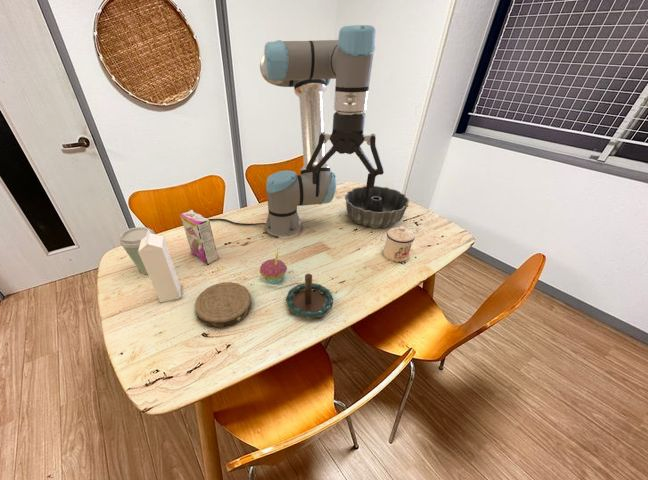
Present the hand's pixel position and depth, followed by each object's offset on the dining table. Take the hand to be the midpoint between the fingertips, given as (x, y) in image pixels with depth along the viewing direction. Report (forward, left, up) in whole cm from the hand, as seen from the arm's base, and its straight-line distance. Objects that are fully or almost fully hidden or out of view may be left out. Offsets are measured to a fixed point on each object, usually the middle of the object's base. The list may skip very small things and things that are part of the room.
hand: (341, 196), depth 79 cm
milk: (-49, -22, -27) cm, 60 cm away
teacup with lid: (+22, +14, -27) cm, 37 cm away
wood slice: (-30, -24, -27) cm, 47 cm away
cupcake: (-19, -9, -27) cm, 34 cm away
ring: (-6, -18, -25) cm, 31 cm away
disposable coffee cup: (-63, -12, -27) cm, 70 cm away
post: (-6, -18, -27) cm, 33 cm away
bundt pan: (+13, +40, -27) cm, 50 cm away
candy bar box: (-48, -1, -27) cm, 55 cm away
